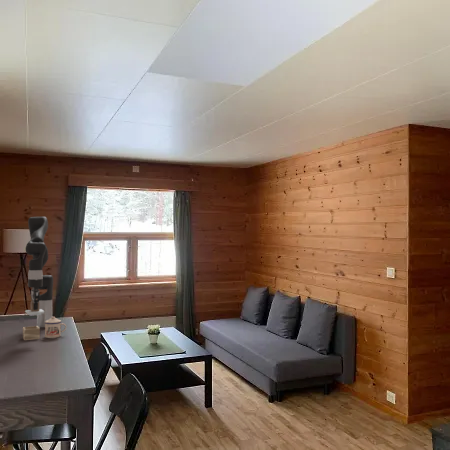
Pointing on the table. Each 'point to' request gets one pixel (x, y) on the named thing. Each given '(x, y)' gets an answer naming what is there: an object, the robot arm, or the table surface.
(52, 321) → the teacup with lid
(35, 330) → the box
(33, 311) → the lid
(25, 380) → the table surface
